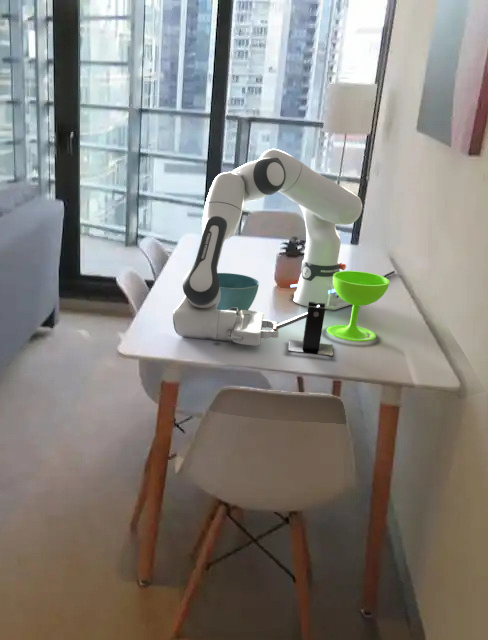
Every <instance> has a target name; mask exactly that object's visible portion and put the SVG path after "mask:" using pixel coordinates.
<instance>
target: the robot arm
mask: <svg viewBox="0 0 488 640" xmlns="http://www.w3.org/2000/svg"><path fill="white" fill-rule="evenodd" d="M276 193H280V194H281V195H283V196H284V197H286V198H287V199H289V200H290V201H292V202H294V203H295V204H297V205H298V207H299V208H300V210H301V212H302V214H303V219H304V224H305V231H306V232H305V234H306V235H305V237H306V239H305V241H306V242H305V248H304V255H303V256H304V257H303V260H302V262H301V267H300V271H301V273H300V275H299V279H298V282H297V283H295V284H290V288H296V291H294V294H293V302H295V303H296V304H298V305H300V306H303V307H307V308H308V304H309V302H317V303H325V310H331V311H336V310H339V309H342V308H345V307H348V306H351V305H352V304H349V303H347V302H345V301H344V300H343V299H341V298H340V297H339V296H338V294H337V293H336V291H335V289H334V285H333V274H334V273H336V272H340V271H346V268H347V264H345V263H342V262H340V263H338V262H339V258H340V257H339V256H340V250H341V243H342V241H341V237H340V236H339V234H338V231H337V228H336V225H337V226H338V225H342V226H345V225H346V226H347V225H351V224H353V223H355V222H356V221H357V220H358V219H359V218H360V216H361V215H362V211H363V202H362V199H361V197H359V196H358V195H357V194H355V193H354V192H352V191H351V190H349V189H347V188H346V187H344V186H342V185H340V184H339V183H337V182H335V181H334V180H331V179H329V178H328V177H326V176H324V175H322V174H320V173H318V172H316V171H315V170H314V169H312V168H311V167H309V166H307V165H306V164H305V163H304V162H302V161H300V160H299V159H297V158H296V157H294V156H292V155H291V154H289V153H287V152H285V151H282V150H280V149H276V148H271V149H268V150H266V151H264V152H263V153H262V154H261V155H260V157H259V158H258V159H257V160H254V161H250V162H246V163H245V164H243V165H241V166H239V167H237V168H234V169H231V170H229V171H228V172H227V171H226V172H222V173H219V174H218V175H217V176H215V178H214V180H213V181H212V184H211V186H210V188H209V192H208V194H207V197H206V201H205V204H204V208H203V214H202V221H201V224H202V225H201V226H202V227H201V238H200V242H199V246H198V250H197V254H196V256H195V258H196V259H195V261H194V263H193V265H192V266H191V268H190V269H189V270H188V272H187V273H186V274H185V276H184V277H183V281H182V290H183V294H184V297H183V299H182V300H181V302H180V303H179V305H178V306H177V307H176V308H175V309H174V310H173V311H172V312H173V314H172V323H173V329H174V330H175V333H176V334H177V335H178V336H180V337H182V338H191V339H198V340H206V339H208V340H209V339H210V340H214V341H220V342H229V343H230V342H231V343H235V344H240V345H246V346H260V345H261V341H262V340H261V339H263V340H267V339H272V338H274V339H277V338H278V337H279V329H278V330H266V329H267V328H269V329H273V324H274V323H275V322H277V323H278V324H280V322H279V321H273V320H271V319H265V318H264V313H263V312H260V311H257V310H251V309H250V310H249V309H248V310H239V311H238V308H235V307H232V308H230V309H228V310H217V308H218V305H219V302H220V299H221V292H220V287H219V278H218V274H217V273H218V266H219V262H220V258H221V254H222V250H223V246H224V244H225V242H226V240H229V239H232V237H234V236H235V235H236V232H237V230H238V228H239V225H240V222H241V218H242V214H243V210H244V205H245V204H246V203H249V202H254V201H257V200H260V199H262V198H265V197H267V196H272V195H274V194H276ZM395 273H396V271H395V270H392V271H390V272H388V273H386V274H384V275H382V276H383V277H385V278H387V277H389V276H391V275H392V274H395ZM263 328H264V329H263Z"/></svg>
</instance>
